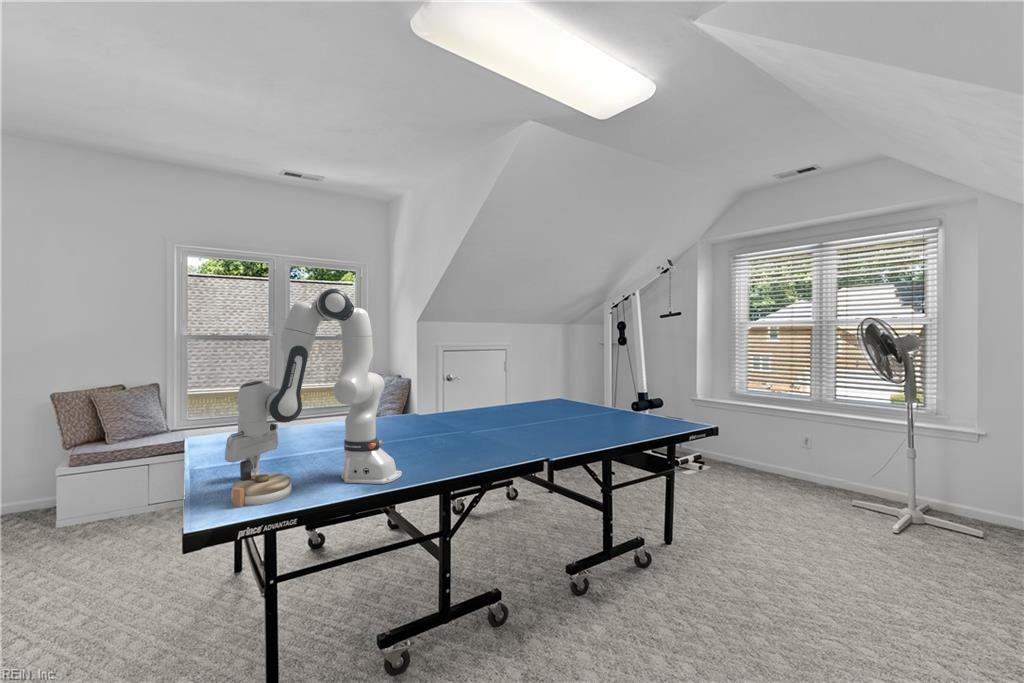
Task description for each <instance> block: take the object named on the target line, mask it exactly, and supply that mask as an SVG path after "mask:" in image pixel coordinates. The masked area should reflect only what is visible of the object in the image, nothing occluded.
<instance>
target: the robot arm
mask: <svg viewBox="0 0 1024 683" xmlns="http://www.w3.org/2000/svg"><path fill="white" fill-rule="evenodd" d="M370 319H371V318H370V316H369V314H368V311H367V310H365V309H363V308H361V307H355V306H354V303H353V302H352V301H351V300H350V298H349V297H348V295H347V294H346V293H345V292H344V291H343V290H341V289H338V288H329V289H326V290H324V291H323V292H321V293H320V294H319V295H318V296H317V298H315V300H314V301H313V302H307V301H298V302H294V304H293V305H292V307H291V308H290V310H289V312H288V314H287V317H286V319H285V322H284V325H283V328H282V332H281V335H280V336H281V337H280V349H281V351H282V353H283V356H284V359H285V366H284V372H283V375H282V382H281V383H280V384H281V385H280V388H278V387H276V386H272V385H270V384H267V383H266V382H265V381H262V380H255V381H250V382H246V383H243V384H242V385H241V386H240V387H239V389H238V394H237V410H238V419H237V432H236V433H235V432H234V433H231V434H230V435H229V436H228V438H226V439H227V440H226V444H225V451H224V460H225V461H226V462H228V463H237V462H241V460H244V459H246V461H251V469H255V468H257V463H258V461H259V462H260V460H259V459H261V455H262V454H264V453H268V452H272V451H275V450H276V449H277V448H278V447H279V431H277V430H278V428H279V425H278V423H274V422H269V421H268V419H267V417H271V418H272V419H274V420H275V421H277V422H279V423H291V422H293V421H294V420H296V419H297V418H298V417H299V416H300V415H301V413H302V410H303V402H302V401H303V400H302V398H301V391H302V386H303V380H304V377H305V373H306V367H307V363H308V360H309V358H310V354H311V351H312V348H313V346H314V343H315V340H316V336H317V331H318V327H319V325H320V323H321V322H331V321H336V322H338V324H339V326H340V329H341V351H342V360H341V367H340V372H339V376H338V379H337V381H336V382H335V383H334V386H333V391H332V392H333V393H332V394H333V396H334V399H335V401H336V402H338V403H340V404H341V405H347V406H348V405H349V406H350V409H349V411H348V413H347V415H346V416H345V420H344V421H345V422H344V427H345V428H344V430H345V435H344V436H345V438H344V440H343V442H344V443H343V446H344V447H343V449H344V450H343V451H344V461H343V467H342V471H341V475H340V477H341V479H342V480H343V482H344V483H346V484H371V485H372V484H374V485H375V484H376V485H379V484H380V485H381V484H382V485H384V484H388V483H391V482H394V481H396V480H398V479H399V478H400V477H401V476H402V473H403V472H402V471H401V470H397V467H396V463H395V460H394V458H393V457H392V456H390V454H388V453H387V452H386V451H385V450H383V448H381V445H380V444H382V443H383V442H382V441H383V439H380V440H379V439H378V438H377V437H376V432H377V428H376V427H377V426H376V422H377V413H378V407H379V404H380V400H381V396H382V394H383V393H384V390H385V388H386V387H385V386H386V385H385V384H386V382H385V380H384V378H383V376H382V375H380V374H378V373H376V372H371V371H369V368H370V364H371V362H372V360H373V358H374V348H373V347H374V344H373V343H374V342H373V331H372V330H373V329H372V325H371V320H370Z"/></svg>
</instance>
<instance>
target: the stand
mask: <svg viewBox="0 0 1024 683" xmlns="http://www.w3.org/2000/svg"><path fill="white" fill-rule="evenodd" d="M230 494H231V495H230V498H231V499H230V501H231V502H232V507H236V508H241V507H244V506H260V505H267V504H271V503H275V502H279V501H282V500H285V499H286V498H288V497H289V496H291V494H292V483H291V481H290V485H289V486H288V487H287V488H285V489H283V490H280V491H277V492H273V493H269V494H263V495H250V496H248V495H244V488H237V487H236V488H234V489H233V488H232V489H231V491H230Z"/></svg>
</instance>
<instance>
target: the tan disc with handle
mask: <svg viewBox="0 0 1024 683" xmlns="http://www.w3.org/2000/svg"><path fill="white" fill-rule="evenodd" d="M239 464H240V465H239V466H240V469H239V470H240V473H239V474H240V475H239V476H240V477H239V478H240V479H238V480H236V481H235V482H233V484H232V489H234V488H236V487H237V488H244V495H248V496H250V495H263V494H269V493H273V492H277V491H280V490H283V489H285V488H287V487H288V486H289V485H290V482H291V476H289V475H287V474H284V473H263V474H262V473H261V474H260V473H259V474H260V475H254V476H251V461H242V462H241V461H239Z"/></svg>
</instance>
